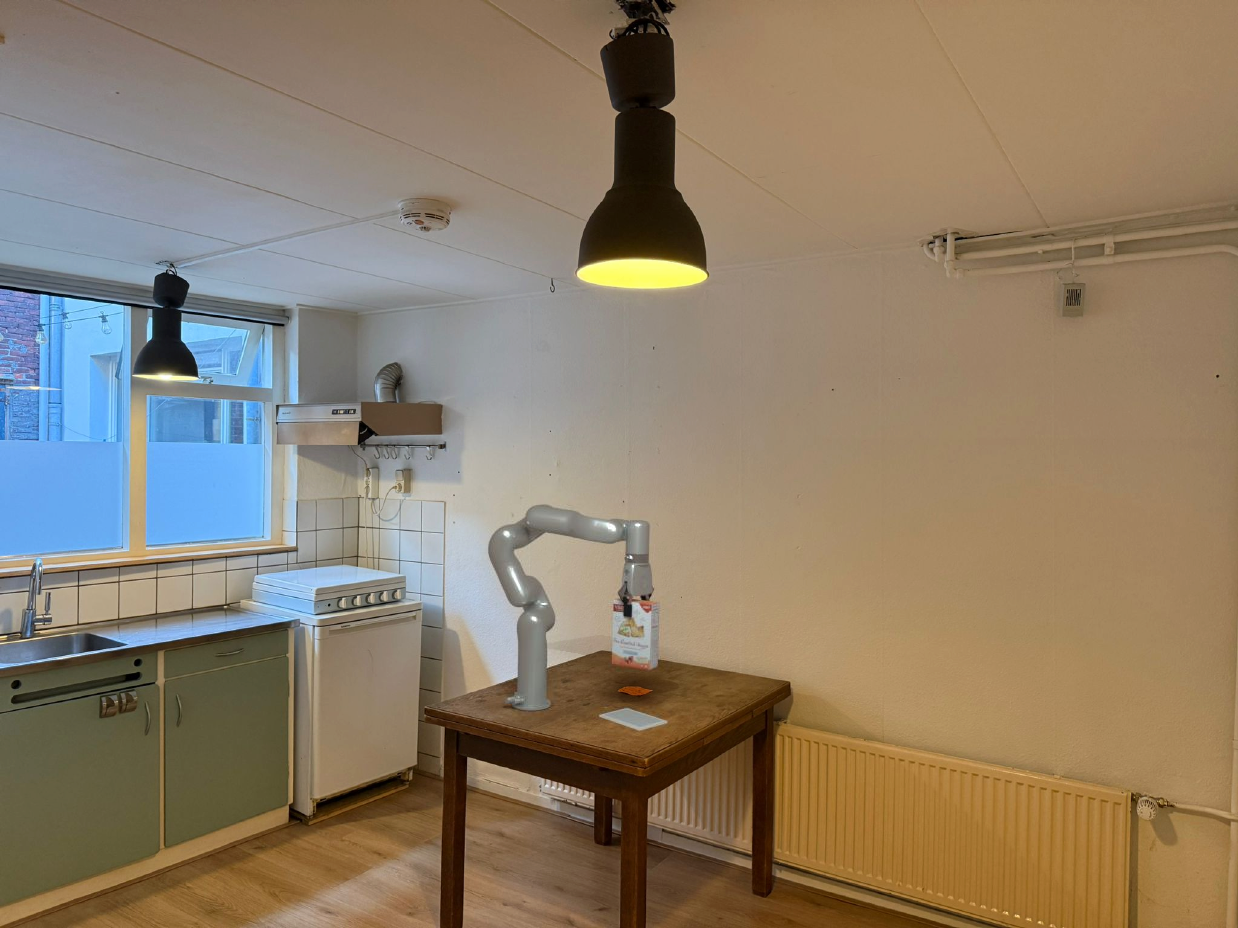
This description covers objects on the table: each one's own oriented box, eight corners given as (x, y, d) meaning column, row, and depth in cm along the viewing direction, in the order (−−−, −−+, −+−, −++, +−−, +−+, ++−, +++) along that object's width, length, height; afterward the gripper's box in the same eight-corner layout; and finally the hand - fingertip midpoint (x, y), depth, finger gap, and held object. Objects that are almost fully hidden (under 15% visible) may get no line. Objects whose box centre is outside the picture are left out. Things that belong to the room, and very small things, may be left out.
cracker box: (610, 664, 263) (612, 599, 263) (620, 661, 268) (621, 596, 268) (649, 670, 256) (651, 603, 256) (658, 667, 261) (660, 601, 261)
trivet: (639, 730, 246) (639, 728, 246) (599, 716, 259) (599, 714, 259) (667, 722, 254) (667, 720, 254) (626, 709, 267) (626, 707, 267)
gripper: (626, 561, 253) (625, 620, 253) (663, 558, 266) (662, 614, 266) (609, 559, 259) (608, 616, 258) (646, 556, 271) (645, 610, 271)
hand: (635, 614), depth 262 cm, fingers closed on cracker box, 6 cm apart
